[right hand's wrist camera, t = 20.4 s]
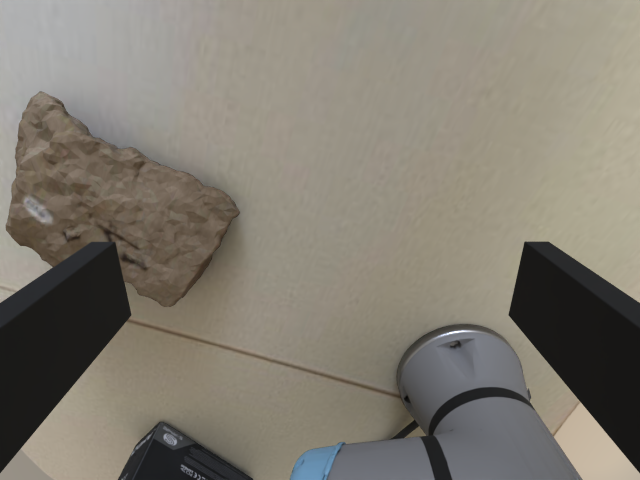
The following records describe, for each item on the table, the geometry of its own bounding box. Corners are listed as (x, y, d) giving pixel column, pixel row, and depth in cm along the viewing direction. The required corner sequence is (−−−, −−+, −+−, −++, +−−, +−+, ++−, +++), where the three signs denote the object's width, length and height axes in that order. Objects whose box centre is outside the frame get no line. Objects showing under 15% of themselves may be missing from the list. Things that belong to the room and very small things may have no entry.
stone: (-17, 223, 38) (-57, 239, 32) (46, 90, 36) (16, 82, 31) (183, 303, 45) (179, 327, 40) (243, 195, 44) (247, 204, 38)
